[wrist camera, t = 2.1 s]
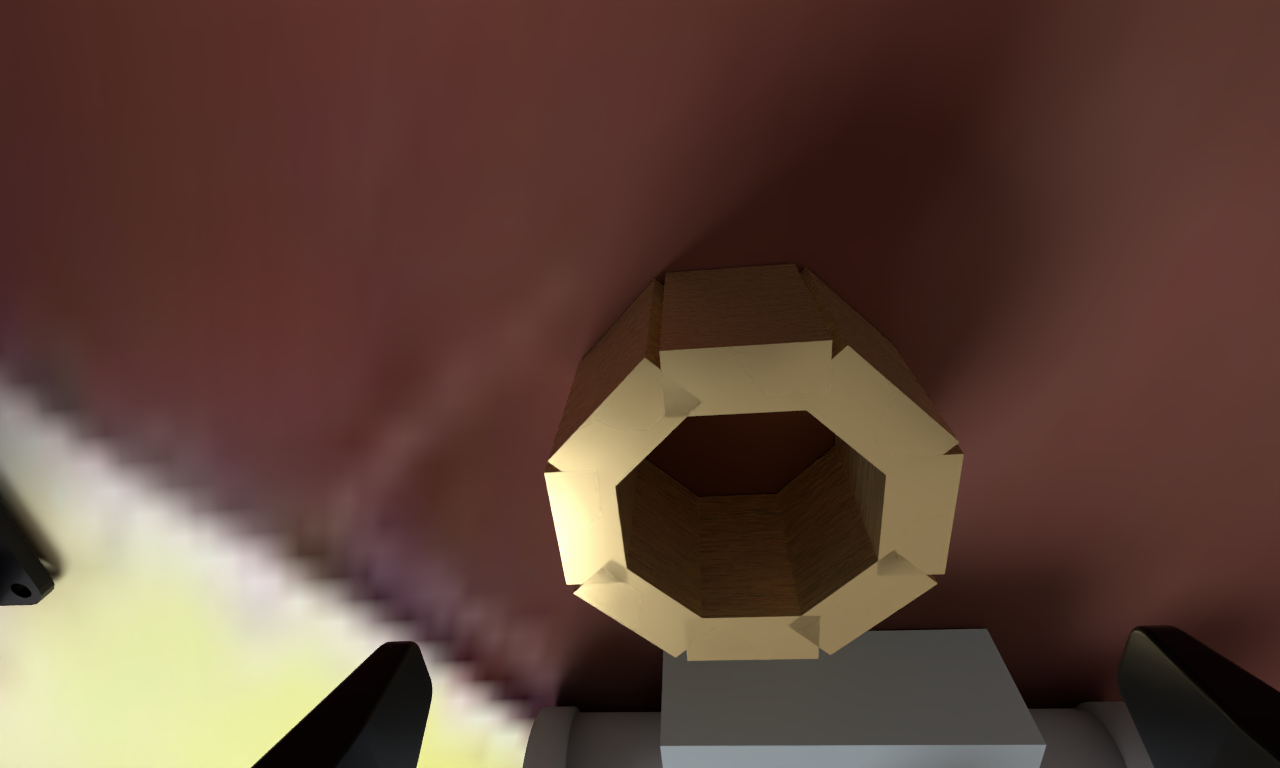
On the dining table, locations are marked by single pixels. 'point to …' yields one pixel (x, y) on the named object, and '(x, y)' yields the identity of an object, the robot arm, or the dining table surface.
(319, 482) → the dining table surface
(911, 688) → the valve
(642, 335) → the nut
